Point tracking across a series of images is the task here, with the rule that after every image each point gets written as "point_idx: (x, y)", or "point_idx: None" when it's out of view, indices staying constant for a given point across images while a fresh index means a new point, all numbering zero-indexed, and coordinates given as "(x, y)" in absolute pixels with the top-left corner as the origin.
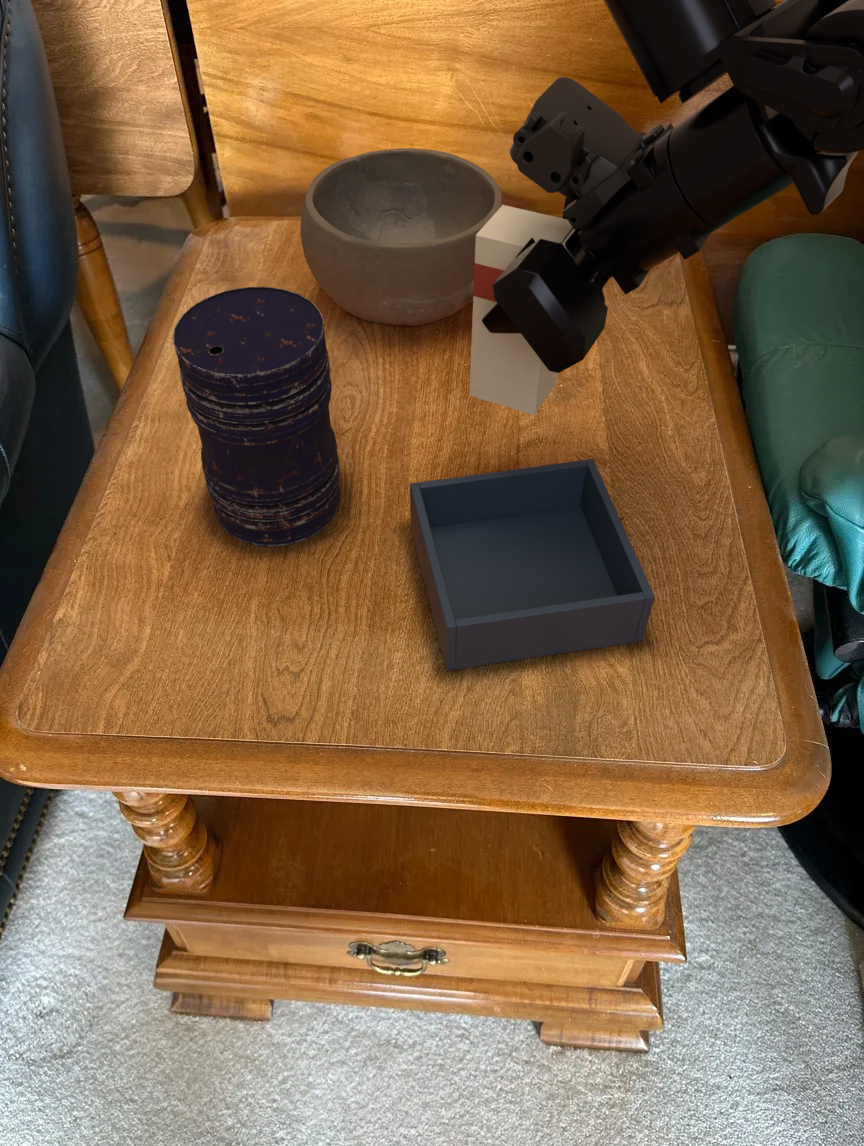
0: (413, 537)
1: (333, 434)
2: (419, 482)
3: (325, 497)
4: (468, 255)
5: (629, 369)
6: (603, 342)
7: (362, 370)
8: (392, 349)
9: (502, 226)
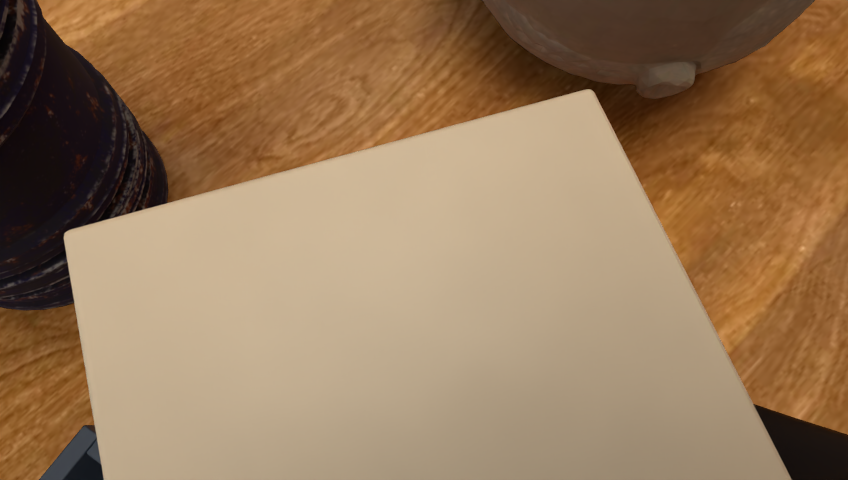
0: None
1: (73, 208)
2: None
3: (9, 294)
4: (676, 19)
5: (772, 398)
6: (783, 307)
7: (404, 70)
8: (479, 68)
9: (336, 308)
